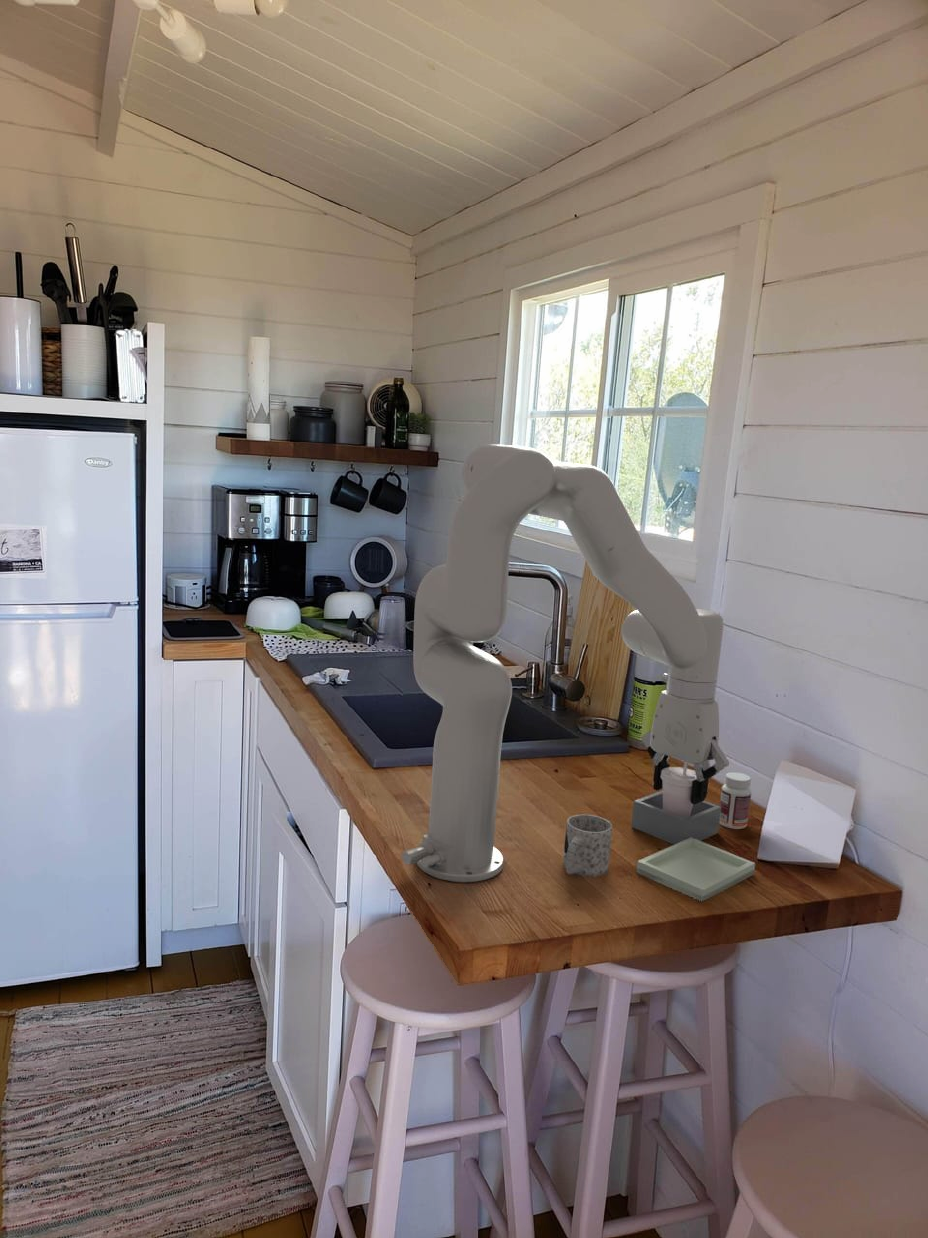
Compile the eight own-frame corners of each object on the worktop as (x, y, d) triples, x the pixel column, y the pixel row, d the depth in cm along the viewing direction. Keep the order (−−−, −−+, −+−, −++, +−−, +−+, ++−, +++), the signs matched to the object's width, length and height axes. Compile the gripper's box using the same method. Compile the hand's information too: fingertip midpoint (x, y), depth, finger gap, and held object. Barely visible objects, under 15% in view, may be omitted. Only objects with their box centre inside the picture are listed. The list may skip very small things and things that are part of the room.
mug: (573, 852, 145) (577, 811, 144) (615, 864, 142) (619, 822, 141) (545, 876, 137) (549, 832, 135) (588, 890, 134) (592, 845, 132)
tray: (701, 902, 132) (703, 890, 132) (636, 872, 140) (637, 861, 139) (753, 874, 142) (755, 863, 141) (689, 848, 149) (691, 837, 149)
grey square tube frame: (683, 848, 149) (686, 821, 148) (631, 826, 156) (633, 800, 155) (717, 833, 156) (721, 807, 155) (666, 812, 163) (669, 787, 162)
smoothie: (684, 842, 152) (694, 757, 149) (647, 829, 155) (656, 747, 153) (701, 830, 157) (711, 748, 154) (665, 818, 160) (674, 738, 158)
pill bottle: (749, 822, 161) (755, 775, 160) (744, 832, 157) (750, 783, 155) (720, 815, 163) (726, 769, 162) (715, 825, 159) (721, 777, 157)
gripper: (632, 678, 155) (621, 783, 158) (727, 705, 143) (713, 818, 146) (659, 672, 160) (647, 774, 163) (752, 697, 148) (738, 807, 151)
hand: (678, 794), depth 155 cm, fingers closed on smoothie, 6 cm apart
